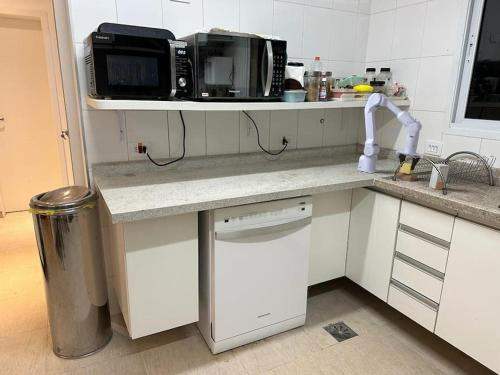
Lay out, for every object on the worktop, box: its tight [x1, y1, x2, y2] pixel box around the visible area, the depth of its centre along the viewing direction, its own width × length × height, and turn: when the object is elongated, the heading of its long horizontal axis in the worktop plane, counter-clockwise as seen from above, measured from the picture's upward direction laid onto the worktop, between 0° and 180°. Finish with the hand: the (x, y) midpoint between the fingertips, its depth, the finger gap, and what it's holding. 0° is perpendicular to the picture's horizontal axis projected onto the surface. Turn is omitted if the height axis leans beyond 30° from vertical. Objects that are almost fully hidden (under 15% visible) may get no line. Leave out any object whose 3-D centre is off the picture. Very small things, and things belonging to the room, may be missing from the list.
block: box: [399, 161, 414, 174], centre depth 189 cm, size 5×5×5 cm
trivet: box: [393, 171, 419, 182], centre depth 190 cm, size 9×9×2 cm
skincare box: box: [428, 163, 450, 190], centre depth 172 cm, size 6×4×12 cm
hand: (407, 169), depth 189 cm, fingers closed on block, 5 cm apart
